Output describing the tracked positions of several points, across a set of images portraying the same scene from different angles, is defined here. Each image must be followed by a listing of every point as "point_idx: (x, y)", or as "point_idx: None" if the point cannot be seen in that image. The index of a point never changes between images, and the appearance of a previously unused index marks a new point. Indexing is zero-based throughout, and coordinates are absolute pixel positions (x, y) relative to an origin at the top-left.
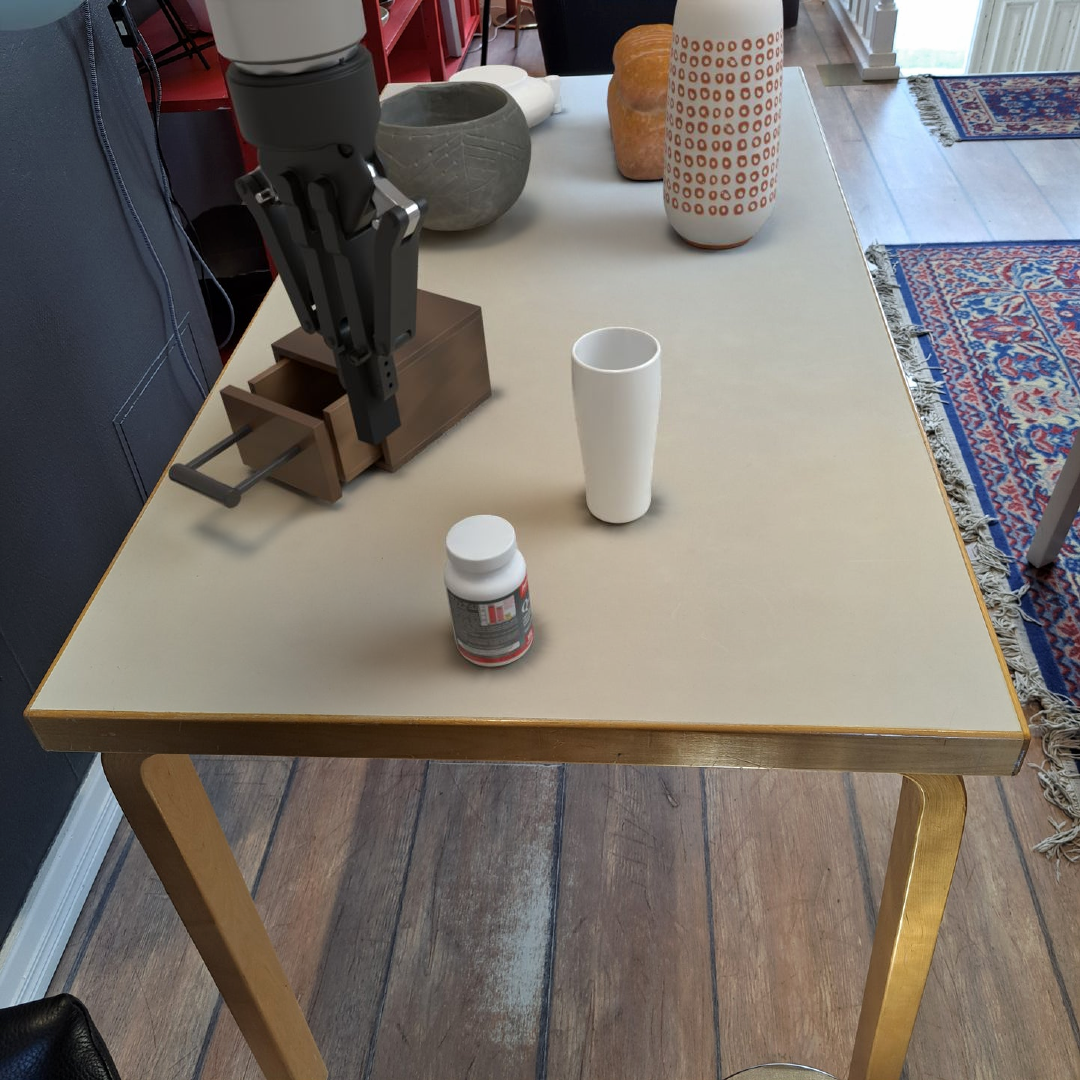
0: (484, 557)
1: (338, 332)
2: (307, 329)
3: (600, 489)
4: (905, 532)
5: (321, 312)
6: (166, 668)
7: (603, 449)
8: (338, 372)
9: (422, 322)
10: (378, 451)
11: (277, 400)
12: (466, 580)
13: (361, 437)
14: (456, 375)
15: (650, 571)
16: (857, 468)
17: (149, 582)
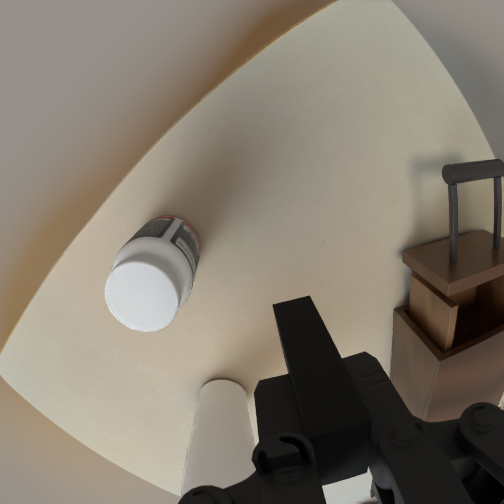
0: (108, 280)
1: (388, 472)
2: (477, 415)
3: (214, 400)
4: (101, 443)
5: (446, 498)
6: (347, 44)
7: (205, 431)
8: (383, 372)
9: (445, 417)
10: (412, 313)
11: (498, 285)
12: (132, 253)
13: (302, 301)
14: (405, 401)
15: (153, 365)
16: (154, 466)
17: (437, 96)
